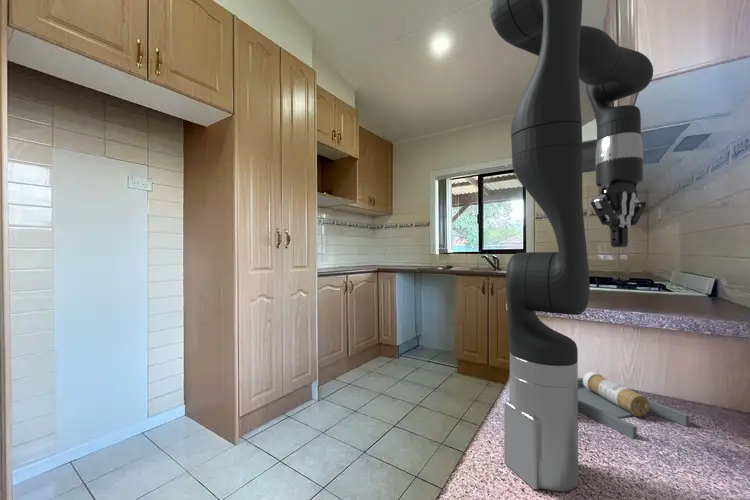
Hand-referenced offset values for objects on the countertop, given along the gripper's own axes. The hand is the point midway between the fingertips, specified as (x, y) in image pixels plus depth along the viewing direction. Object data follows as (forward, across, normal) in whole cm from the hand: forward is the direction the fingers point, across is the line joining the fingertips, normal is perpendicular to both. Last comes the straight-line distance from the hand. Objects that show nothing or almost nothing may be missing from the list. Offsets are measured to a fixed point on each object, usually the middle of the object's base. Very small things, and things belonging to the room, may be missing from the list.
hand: (619, 247), depth 63 cm
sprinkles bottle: (+33, +7, +1) cm, 33 cm away
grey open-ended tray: (+35, +5, +6) cm, 36 cm away
